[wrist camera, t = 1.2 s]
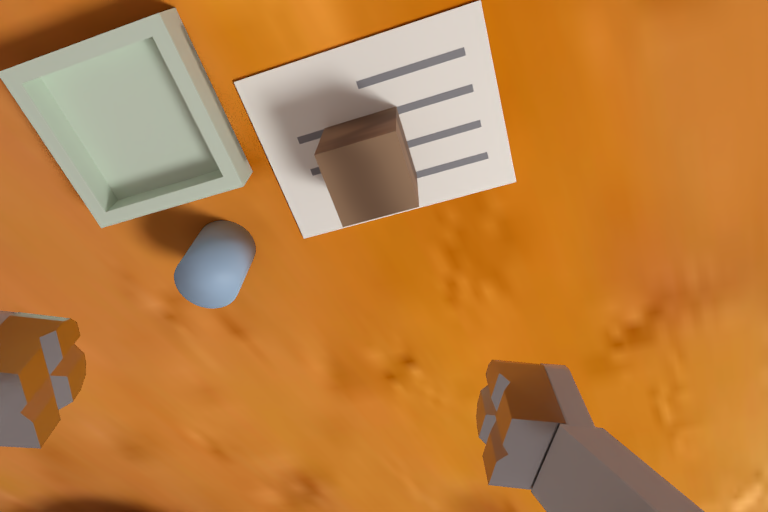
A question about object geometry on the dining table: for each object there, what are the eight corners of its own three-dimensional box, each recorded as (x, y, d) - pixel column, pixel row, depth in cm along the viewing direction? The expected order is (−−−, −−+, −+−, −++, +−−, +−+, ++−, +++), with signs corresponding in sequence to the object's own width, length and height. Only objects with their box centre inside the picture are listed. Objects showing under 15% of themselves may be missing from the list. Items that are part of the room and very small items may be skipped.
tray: (175, 7, 31) (158, 12, 29) (252, 171, 37) (243, 186, 35) (22, 63, 33) (-4, 72, 31) (117, 211, 39) (101, 228, 37)
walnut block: (396, 106, 34) (395, 130, 30) (416, 175, 36) (419, 206, 32) (324, 128, 35) (313, 155, 31) (349, 193, 37) (342, 227, 33)
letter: (480, -1, 31) (480, 0, 31) (515, 180, 37) (516, 181, 37) (234, 81, 34) (233, 82, 33) (304, 237, 39) (304, 238, 39)
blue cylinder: (240, 213, 39) (221, 248, 34) (265, 262, 41) (249, 300, 37) (187, 228, 39) (162, 264, 35) (214, 275, 42) (193, 314, 37)
